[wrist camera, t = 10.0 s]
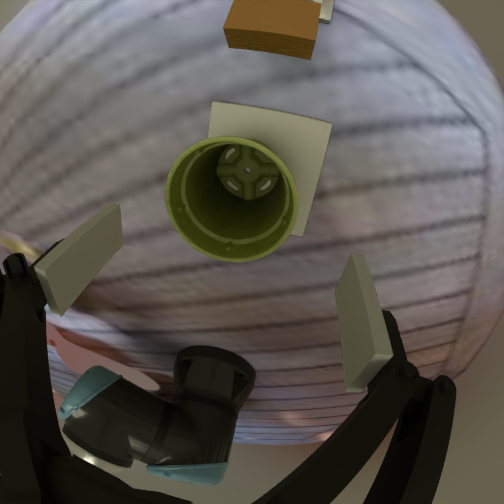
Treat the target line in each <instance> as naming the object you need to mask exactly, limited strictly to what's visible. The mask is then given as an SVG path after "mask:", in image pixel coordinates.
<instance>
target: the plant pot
mask: <svg viewBox="0 0 504 504" xmlns="http://www.w3.org/2000/svg"><path fill="white" fill-rule="evenodd" d="M232 148H234V149H235V151H234V152H233V153H232V154H230V156H229V157H228V158H227V159H225V156H226V154H227V152H228V151H229V150H230V149H232ZM262 152H263V153H262ZM265 154H266V155H267V156H268V157H269V158H267V156H266V155H265ZM245 168H249V169H250V172H249V173H246V172H245ZM269 180H270V181H271V184H270V185H269V186H268V187H267V188H266V189H265V190H260V188H261V187H263V186H264V185H265V184H266V183H267V181H269ZM227 181H230V182H231V183H232V184H233V185H234V186H235V187H236V188H238V190H234V189H233V188H232V187H230V186H229V185H228V184H227ZM165 203H166V208H167V212H168V215H169V217H170V219H171V221H172V223H173V225H174V227H175V229H176V230H177V232H178V233H179V234H180V236H181V237H182V238H183V239H184V240H185V241H186V242H187V243H188V244H190V245H191V246H192V247H193V248H194V249H196V250H198V251H199V252H201V253H203V254H205V255H207V256H209V257H211V258H214V259H217V260H222V261H228V262H247V261H253V260H257V259H260V258H262V257H265V256H267V255H269V254H270V253H272V252H273V251H275V250H276V249H277V248H279V247H280V246H281V245H282V244H283V243H284V242H285V241H286V239H287V238H288V237H289V235H290V234H291V232H292V230H293V228H294V226H295V223H296V220H297V216H298V210H299V196H298V190H297V186H296V183H295V180H294V178H293V176H292V174H291V172H290V170H289V169H288V167H287V166H286V164H285V163H284V162H283V161H282V160H281V159H280V157H278V156H277V155H276V154H275V153H274V151H273V150H272V149H271V148H270V147H269V146H267V145H266V144H264V143H262V142H261V141H258V140H254V139H246V138H242V137H237V136H218V137H212V138H208V139H205V140H202V141H200V142H198V143H196V144H194V145H192V146H191V147H189V148H188V149H187V150H186V151H184V152H183V153H182V154H181V155H180V156H179V157H178V159H177V160H176V161H175V163H174V164H173V166H172V168H171V170H170V172H169V174H168V178H167V182H166V188H165Z"/></svg>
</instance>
